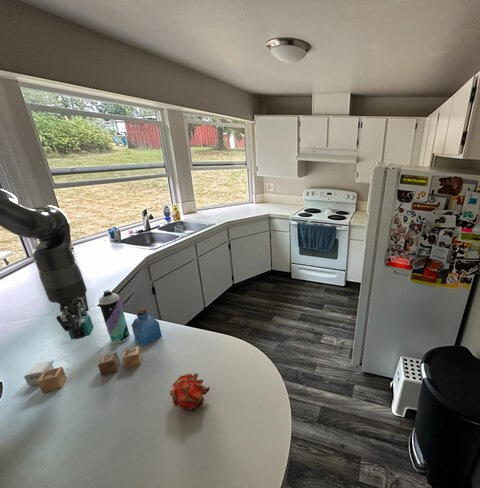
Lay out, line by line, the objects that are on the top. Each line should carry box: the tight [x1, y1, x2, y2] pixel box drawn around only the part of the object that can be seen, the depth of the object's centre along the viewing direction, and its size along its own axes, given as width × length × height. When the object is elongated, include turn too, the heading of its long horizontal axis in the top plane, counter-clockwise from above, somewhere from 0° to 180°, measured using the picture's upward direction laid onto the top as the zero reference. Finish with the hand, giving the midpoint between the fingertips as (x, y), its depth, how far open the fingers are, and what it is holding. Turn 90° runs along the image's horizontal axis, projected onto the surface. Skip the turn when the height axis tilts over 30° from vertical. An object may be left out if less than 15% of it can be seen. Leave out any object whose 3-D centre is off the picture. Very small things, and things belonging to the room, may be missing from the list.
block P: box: [122, 345, 143, 370], centre depth 82 cm, size 4×4×5 cm
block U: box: [97, 351, 121, 377], centre depth 79 cm, size 4×4×5 cm
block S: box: [67, 314, 94, 340], centre depth 72 cm, size 4×4×5 cm
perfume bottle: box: [131, 307, 162, 346], centre depth 92 cm, size 6×6×12 cm
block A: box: [37, 366, 68, 394], centre depth 73 cm, size 4×4×5 cm
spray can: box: [98, 290, 131, 344], centre depth 90 cm, size 6×6×20 cm
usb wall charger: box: [23, 359, 55, 386], centre depth 76 cm, size 4×7×4 cm, turn 22°
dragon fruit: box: [169, 372, 210, 412], centre depth 69 cm, size 8×8×12 cm
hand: (82, 332), depth 73 cm, fingers closed on block S, 4 cm apart
